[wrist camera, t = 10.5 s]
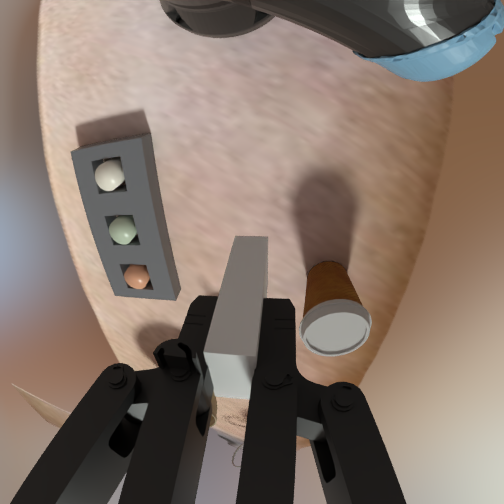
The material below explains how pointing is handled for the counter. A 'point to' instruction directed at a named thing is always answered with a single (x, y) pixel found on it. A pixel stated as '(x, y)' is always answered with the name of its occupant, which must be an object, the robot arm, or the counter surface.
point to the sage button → (123, 229)
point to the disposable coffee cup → (333, 312)
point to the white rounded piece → (110, 174)
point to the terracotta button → (137, 276)
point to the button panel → (129, 203)
